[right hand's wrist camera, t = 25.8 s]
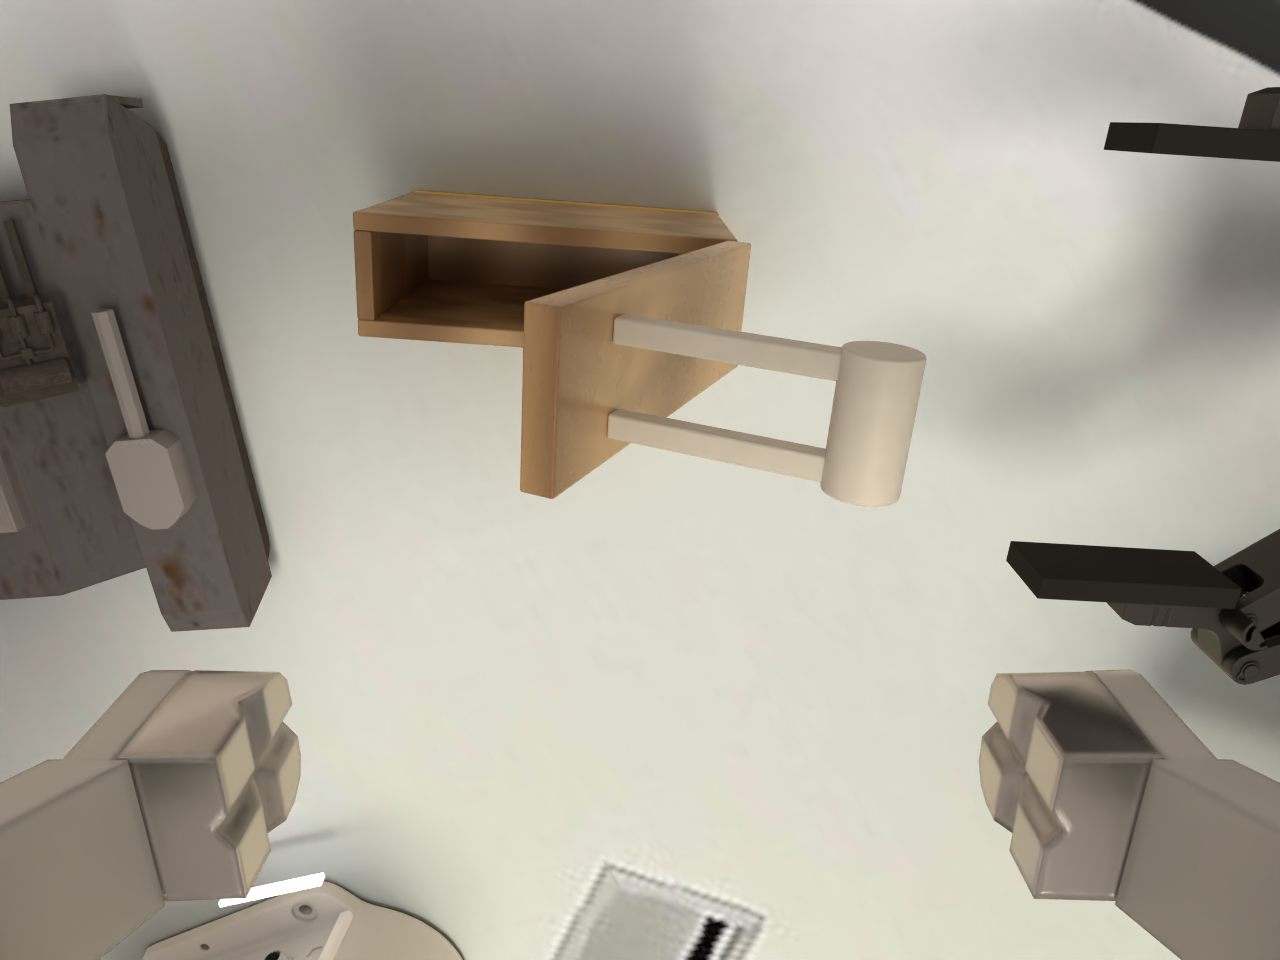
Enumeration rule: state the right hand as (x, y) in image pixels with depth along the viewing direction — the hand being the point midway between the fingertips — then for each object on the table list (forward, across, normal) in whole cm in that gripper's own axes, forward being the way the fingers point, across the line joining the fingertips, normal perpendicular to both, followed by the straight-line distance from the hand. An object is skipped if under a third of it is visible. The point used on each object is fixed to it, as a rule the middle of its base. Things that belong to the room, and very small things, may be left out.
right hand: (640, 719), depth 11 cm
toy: (+37, +31, +6) cm, 49 cm away
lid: (+19, 0, 0) cm, 19 cm away
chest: (+37, +4, 0) cm, 37 cm away
